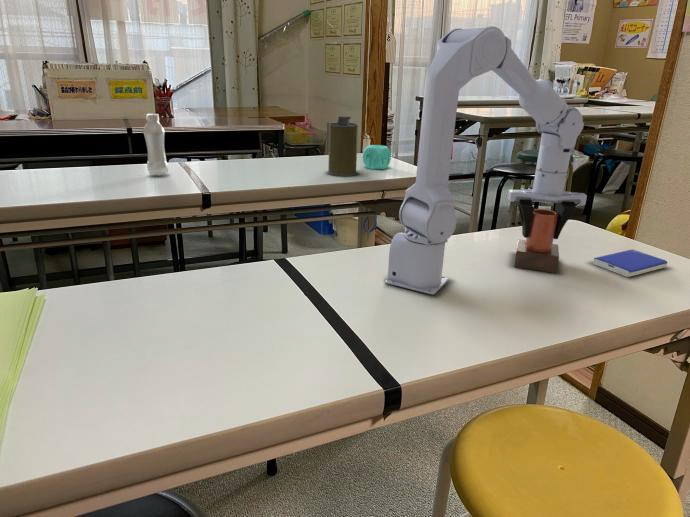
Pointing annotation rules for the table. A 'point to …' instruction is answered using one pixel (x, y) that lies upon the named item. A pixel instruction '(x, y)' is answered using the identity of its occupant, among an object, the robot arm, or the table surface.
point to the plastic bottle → (155, 146)
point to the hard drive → (630, 262)
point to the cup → (541, 230)
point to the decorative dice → (376, 157)
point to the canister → (342, 147)
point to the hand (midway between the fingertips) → (539, 236)
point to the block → (536, 258)
